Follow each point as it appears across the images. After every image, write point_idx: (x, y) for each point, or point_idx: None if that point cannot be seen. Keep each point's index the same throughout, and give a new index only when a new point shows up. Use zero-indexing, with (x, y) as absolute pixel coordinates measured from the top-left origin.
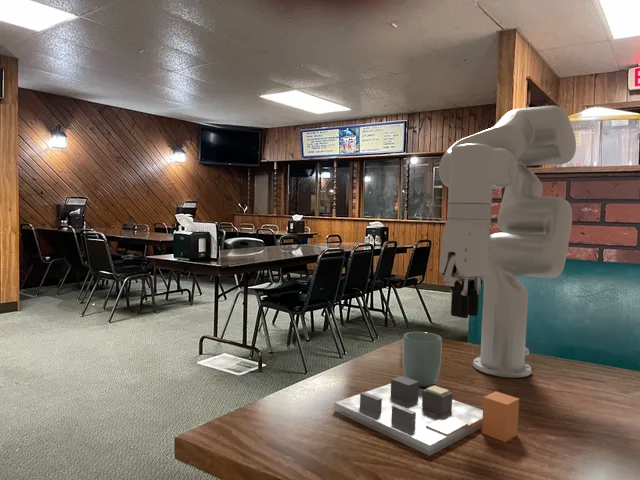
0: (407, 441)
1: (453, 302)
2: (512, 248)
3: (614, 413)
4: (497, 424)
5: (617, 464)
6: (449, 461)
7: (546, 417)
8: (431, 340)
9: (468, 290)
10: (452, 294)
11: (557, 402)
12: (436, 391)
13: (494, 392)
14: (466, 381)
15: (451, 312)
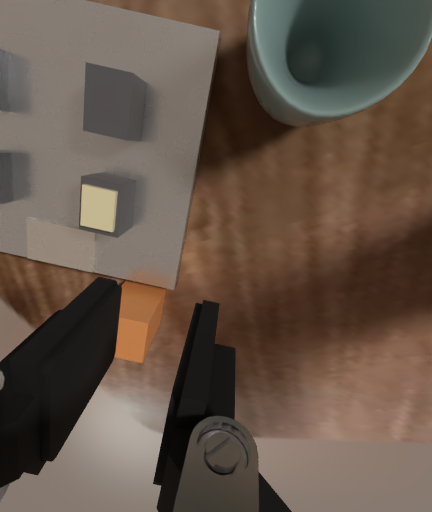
0: None
1: (25, 341)
2: None
3: (349, 421)
4: None
5: (164, 422)
6: (6, 269)
7: (263, 346)
8: (395, 46)
9: (165, 471)
10: (13, 360)
11: (352, 352)
12: (83, 211)
13: (139, 323)
14: (387, 172)
15: (93, 284)
